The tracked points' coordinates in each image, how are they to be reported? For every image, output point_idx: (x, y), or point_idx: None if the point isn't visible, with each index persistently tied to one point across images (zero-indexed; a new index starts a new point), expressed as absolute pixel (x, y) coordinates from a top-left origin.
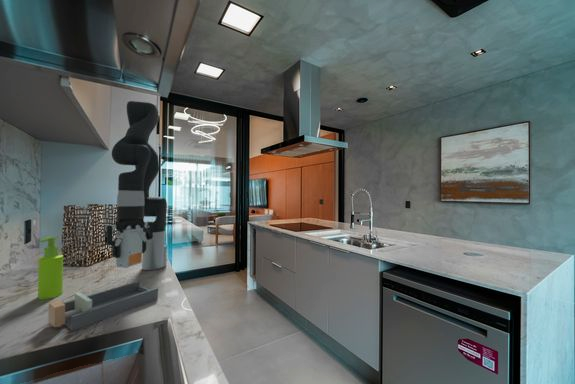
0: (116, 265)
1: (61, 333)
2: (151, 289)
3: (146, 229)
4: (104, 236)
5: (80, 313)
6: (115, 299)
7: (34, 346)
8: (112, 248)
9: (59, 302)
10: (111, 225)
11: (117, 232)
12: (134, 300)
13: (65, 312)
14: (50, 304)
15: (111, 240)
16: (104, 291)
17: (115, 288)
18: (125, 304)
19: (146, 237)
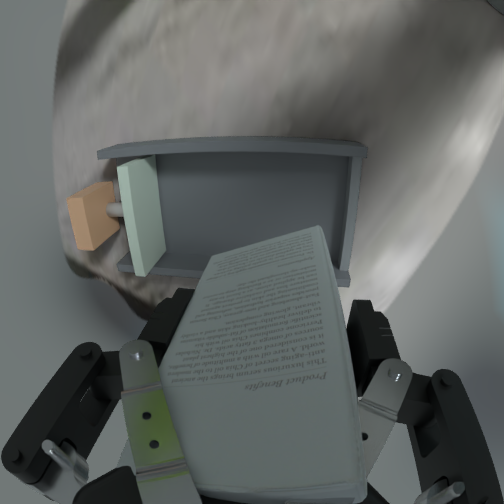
0: (209, 262)
1: (119, 246)
2: None
3: (447, 458)
4: (47, 388)
5: (132, 268)
6: (256, 166)
7: (88, 255)
8: (142, 339)
9: (83, 221)
10: (54, 500)
11: (124, 447)
12: None
13: (112, 211)
14: (70, 214)
15: (105, 411)
16: (219, 149)
17: (260, 150)
18: None
19: (397, 419)
